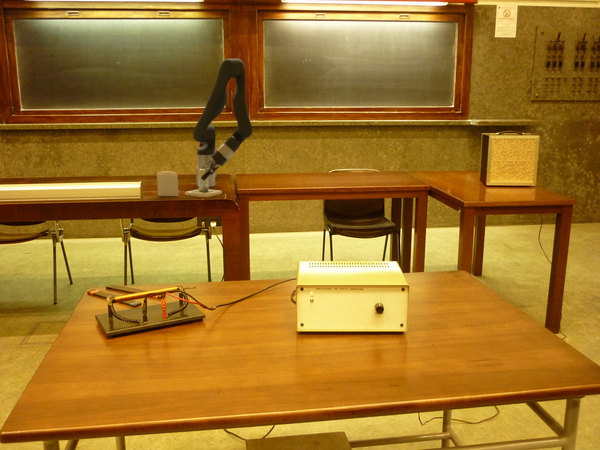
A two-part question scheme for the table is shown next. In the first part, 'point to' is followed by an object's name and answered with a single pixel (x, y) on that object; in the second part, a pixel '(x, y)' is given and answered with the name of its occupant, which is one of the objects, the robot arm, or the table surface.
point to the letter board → (203, 193)
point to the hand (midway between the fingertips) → (200, 178)
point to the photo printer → (167, 183)
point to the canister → (203, 184)
